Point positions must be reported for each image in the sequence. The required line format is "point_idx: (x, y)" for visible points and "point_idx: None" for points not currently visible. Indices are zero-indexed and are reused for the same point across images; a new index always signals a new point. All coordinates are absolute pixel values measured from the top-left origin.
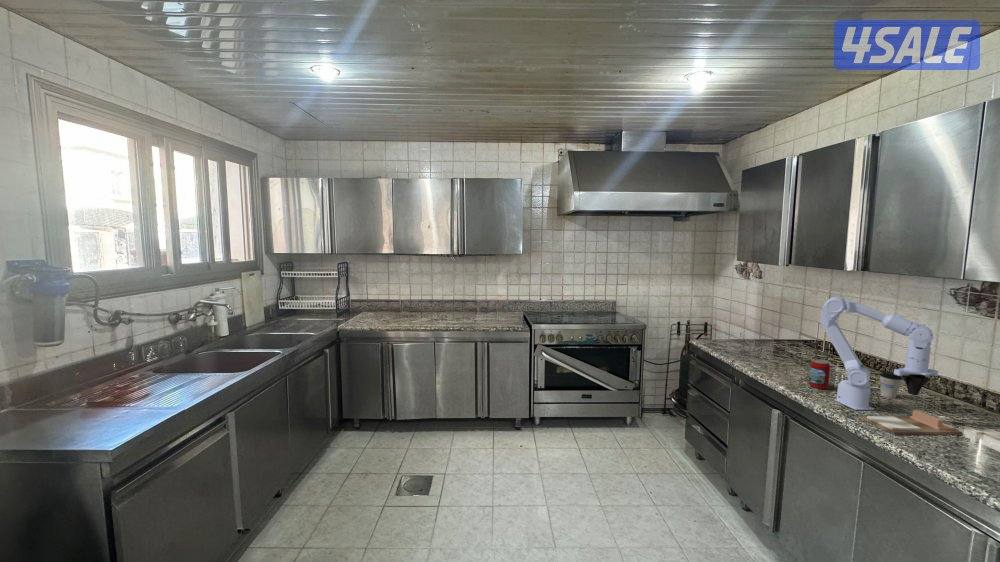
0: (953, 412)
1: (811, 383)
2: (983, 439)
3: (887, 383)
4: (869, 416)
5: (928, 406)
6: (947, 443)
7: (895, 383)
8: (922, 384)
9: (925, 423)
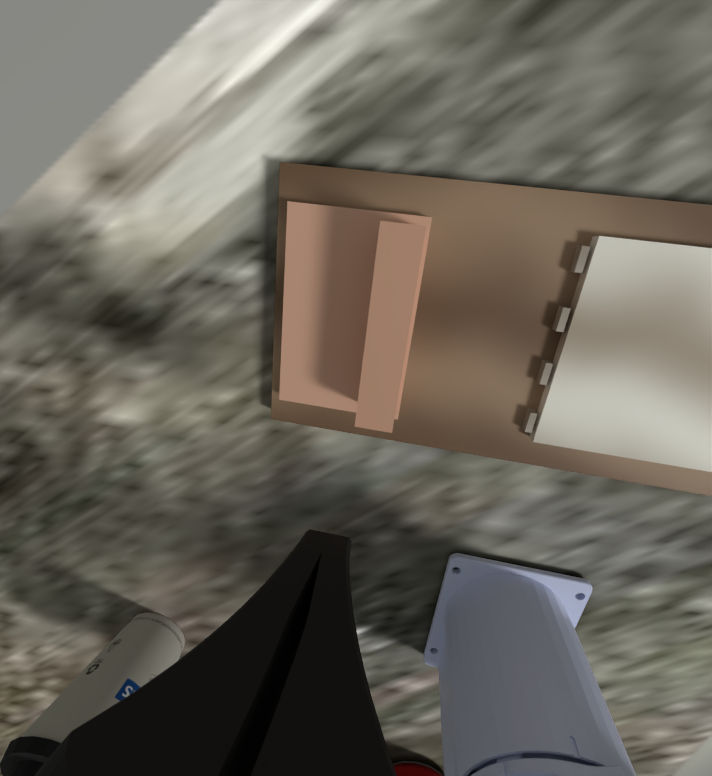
0: (6, 438)
1: None
2: (208, 77)
3: None
4: None
5: (69, 514)
6: (613, 22)
7: (92, 711)
8: (232, 655)
9: (413, 316)
